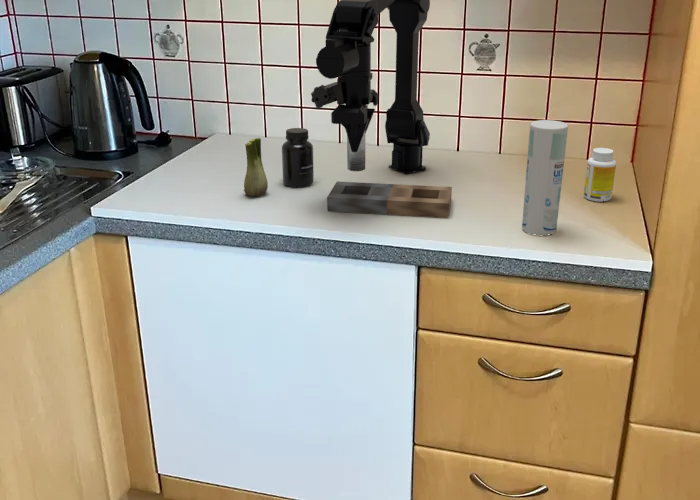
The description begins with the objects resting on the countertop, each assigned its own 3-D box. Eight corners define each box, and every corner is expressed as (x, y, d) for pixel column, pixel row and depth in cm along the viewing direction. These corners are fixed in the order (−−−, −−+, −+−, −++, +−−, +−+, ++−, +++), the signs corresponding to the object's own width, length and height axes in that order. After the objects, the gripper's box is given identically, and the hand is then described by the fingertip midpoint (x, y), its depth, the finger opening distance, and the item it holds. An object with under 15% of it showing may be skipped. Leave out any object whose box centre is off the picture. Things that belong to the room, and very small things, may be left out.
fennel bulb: (260, 188, 164) (257, 134, 159) (274, 193, 161) (271, 138, 156) (238, 195, 160) (234, 140, 156) (253, 200, 157) (249, 144, 152)
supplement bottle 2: (617, 200, 155) (624, 151, 151) (596, 204, 153) (602, 155, 149) (598, 192, 160) (604, 145, 156) (577, 196, 158) (583, 148, 154)
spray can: (550, 239, 137) (561, 130, 129) (515, 232, 140) (524, 125, 132) (561, 227, 142) (573, 122, 134) (528, 221, 145) (537, 118, 137)
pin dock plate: (451, 200, 156) (451, 186, 155) (448, 218, 147) (448, 203, 145) (337, 194, 160) (336, 181, 159) (327, 211, 151) (327, 197, 150)
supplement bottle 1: (309, 189, 163) (308, 135, 159) (279, 187, 165) (276, 133, 160) (317, 179, 170) (315, 126, 165) (287, 177, 171) (285, 125, 166)
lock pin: (359, 164, 154) (358, 115, 150) (371, 169, 151) (371, 119, 147) (341, 167, 152) (340, 118, 148) (353, 173, 149) (353, 123, 145)
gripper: (324, 60, 153) (326, 135, 160) (302, 77, 136) (305, 161, 143) (378, 61, 151) (378, 137, 158) (363, 79, 135) (364, 163, 141)
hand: (356, 149), depth 150 cm, fingers closed on lock pin, 4 cm apart
